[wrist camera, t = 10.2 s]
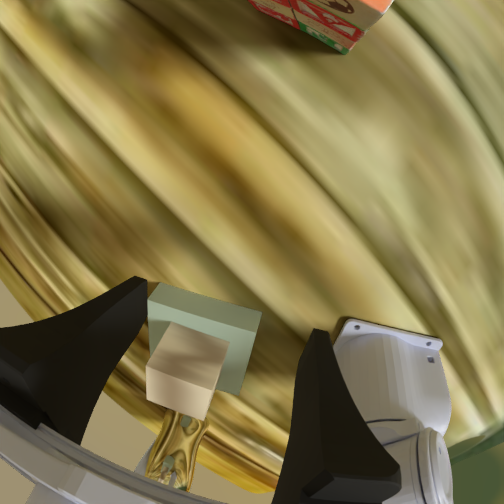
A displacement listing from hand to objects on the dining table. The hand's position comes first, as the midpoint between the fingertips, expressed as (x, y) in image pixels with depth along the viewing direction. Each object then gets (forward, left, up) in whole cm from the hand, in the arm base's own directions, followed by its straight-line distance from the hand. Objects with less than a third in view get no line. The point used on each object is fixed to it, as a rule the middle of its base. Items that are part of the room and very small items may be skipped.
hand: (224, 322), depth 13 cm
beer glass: (+4, +30, -11) cm, 32 cm away
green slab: (+3, +13, -11) cm, 17 cm away
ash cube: (+3, +12, -8) cm, 15 cm away
